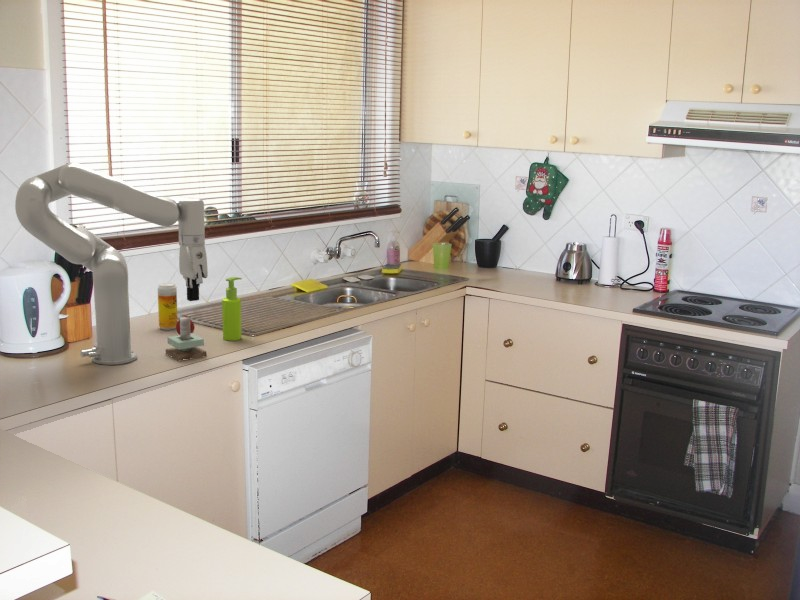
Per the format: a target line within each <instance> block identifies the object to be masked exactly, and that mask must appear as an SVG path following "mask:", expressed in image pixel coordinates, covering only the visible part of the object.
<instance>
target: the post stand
mask: <svg viewBox="0 0 800 600" xmlns="http://www.w3.org/2000/svg"><path fill="white" fill-rule="evenodd" d="M190 319H191V317H189V316H187V317H183V316H182V317H180V318H179V320H180V339H181V340H182V341H183V340H189V339H191V332H190ZM167 354H168V355H167ZM165 355H167V356H169V355H170V356H172V357H174V358H175V359H174V358H173V359H174V360H176V359H177V360H176V361H178V360H183V359H188V360H191V359H190V358H194V359H199V358H204V357H203V356H205V357H207V356H208V355H207V351H206V350H204V349H202V348H201V347H200V346H198V347H192V348H186V349H181V350H179V349H177V348H175V347H171V348H165ZM170 356H169V357H170ZM172 357H171V358H172ZM198 357H199V358H198ZM183 361H184V360H183Z"/></svg>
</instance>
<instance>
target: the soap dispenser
mask: <svg viewBox="0 0 800 600" xmlns="http://www.w3.org/2000/svg"><path fill="white" fill-rule="evenodd" d="M242 279H243V278H242V277H237V276H232V277H227V278H226V279H225V281H226V282H228V287H226V288H225V297H224V298H222V301H221V302H222V303H221V305H222V310H221V311H222V339H223V340H224V341H239V340H241V339H242V300H241V298H240V297H238V288H236V287H235V281H237V280H242Z"/></svg>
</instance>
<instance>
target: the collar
mask: <svg viewBox="0 0 800 600" xmlns="http://www.w3.org/2000/svg"><path fill="white" fill-rule="evenodd" d="M167 344H168V345H170V346H172V348H177V349H179V350H181V349H186V348H192V347H203V346H205V341H204V338H203V337H200V336H199V335H197V334H195V333H191V339H189V340H183V341H182V340H181V339H180V335H179V334H178V335H173V336H167Z"/></svg>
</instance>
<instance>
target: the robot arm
mask: <svg viewBox="0 0 800 600" xmlns="http://www.w3.org/2000/svg"><path fill="white" fill-rule="evenodd" d="M70 195H72V196H75V197H78V198H80V199H83V200H87V201H89V202H93V203H96V204H99V205H101V206H105V207H107V208H110V209H113V210H114V211H117V212H120V213H124V214H126V215H129V216H132V217H134V218H137V219H139V220H142V221H145V222H148V223H152V224H154V225H158V226H161V227H171V226H173V225H175V224H176V223H177V222H178V246H179V256H178V259H179V260H178V261H179V264H178V265H179V273H180V275H182V277H183V279H184V280H185V286H186V300H187V301H188V302H195V301H196V302H197V301H199V300H200V287H201V285H200V284H203V283H204V282H203V279H207V278H208V276H209V275H208V273H209V270H208V257H207V251H206V246H205V245H206V238H205V237H206V236H205V235H206V234H205V230H206V228H205V227H206V226H205V225H206V224H205V202H204V200H203V199H201V198H200V197H183V198H178V197H170V196H169V197H168V196H160V197H158V196H155V195H152V194H149V193H147V192H146V191H145V192H144V191H142V190H139V189H137V188H135V187H134V186H132V185H130V184H129V183H127V182H126V181H124V180H122V179H119V178H116V177H113V176H110V175H107V174H104V173H101V172H98V171H97V170H96V171H95V170H94V169H90V168H87V167H86V166H84V165H83V164H81V163H78V162H74V161H73V162H68V163H65V164H63V165H60V166H58V167H56V168H53V169H50V170H48V171H45V172H43V173H40V174H37V175H35V176H32V177H29V178H28V179H25V181H24V182H22V184H20V186H19V187H18V189H17V191H16V196H15V202H14V203H15V205H14V207H15V214H16V217H17V220H18V222H19V224H20V225H21V226H22V228H23V229H24V230H26V232H28V234H30V235H31V236H33V237H34V238H35V239H37V240H38V241H39V242H41V243H42V244H44V245H45V246H47V247H48V248H49V249H51V250H53V251H54V252H55V253H57V254H58V255H60V256H61V257H63V259H65V260H66V261H68V262H70V263H71V264H75V265H82V266H83V267H84V268H86V269H87V270H89V271H91V273H92V282H93V284H92V285H93V296H94V301H93V302H94V311H95V312H94V314H95V331H96V332H95V333H96V344H93V347H91V348H90V349H82V350H80V357H82V358H84V357H88V358H92V359H91V360H92V362H94V363H96V364H98V365H107V366H112V365H116V366H117V365H122V364H127V363H130V362H133V361H135V360H137V358H138V354H137V352H136V351H134V350H132V341H131V340H132V339H131V321H130V299H129V296H130V295H129V270H128V264H127V261H126V258H125V257H124V255H123V253H121V252H120V251H119V250H117V249H116V248H115V247H113V246H111V244H109V243H108V242H106V241H104V239H101V238H100V237H99V236H97V235H96V234H94V233H93V232H91V231H90V230H88V229H86V228H83V227H77V226H76V227H74V226H73V225H71V224H70V223H68V222H67V221H65V220H64V219H63V218H61V217H60V216H58V215H56V214H55V213H54V212H52V211H51V210H50V208H49V204H50V203H53V202H55V201H58V200H60V199H63V198H66V197H68V196H70Z"/></svg>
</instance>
